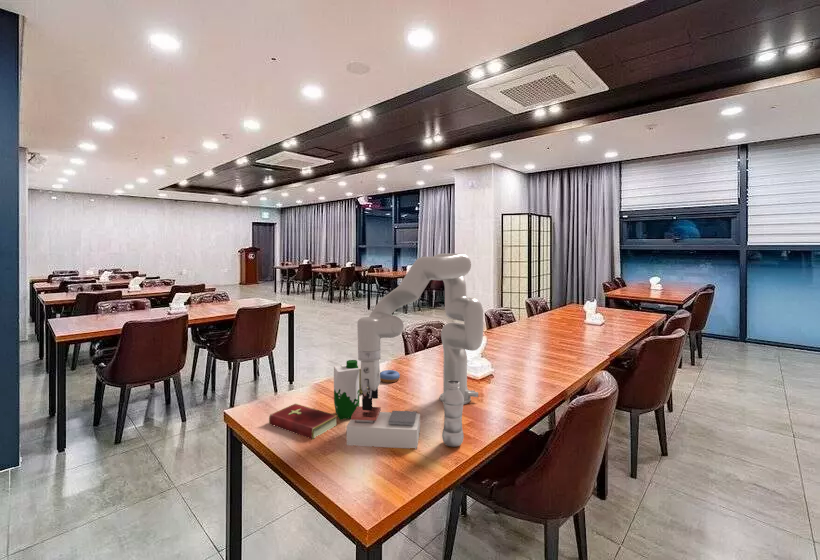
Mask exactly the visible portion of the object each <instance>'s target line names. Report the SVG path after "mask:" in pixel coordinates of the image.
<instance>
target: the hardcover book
mask: <svg viewBox="0 0 820 560" xmlns="http://www.w3.org/2000/svg"><path fill="white" fill-rule="evenodd" d="M337 418H338V416H337V414H333V413H330V412H327V411H323V410H319V409H316V408H313V407H309V406H305V405H302V404H299V403H294V404H292V405H291V404H290V405H289V406H287V407H284V408H282V409H280V410H278V411H276V412H273V413H271V414H269V418H268V421H269V425H270V424H272V425H271V426H273V425H275V426H274V427H276V426H278V427H280V428H279V429H281V428H283V429H282V430H284V429H286V430H285V431H287V430H289V431H288V432H290V431H291V433H293V432H294V434H296V433H297V435H299V434H300V435H299V436H302V435H303V436H302V437H305V436H306V438H308V437H309V438H308V439H310V438H311V440H315V438H317V437H318V435H319V436H321V435H323V434H324V433H326V432H328V431H329V430H331V429H333V428H335V427H336V426H337ZM334 426H335V427H334ZM278 427H277V428H278ZM327 430H328V431H327ZM316 436H317V437H316Z"/></svg>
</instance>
